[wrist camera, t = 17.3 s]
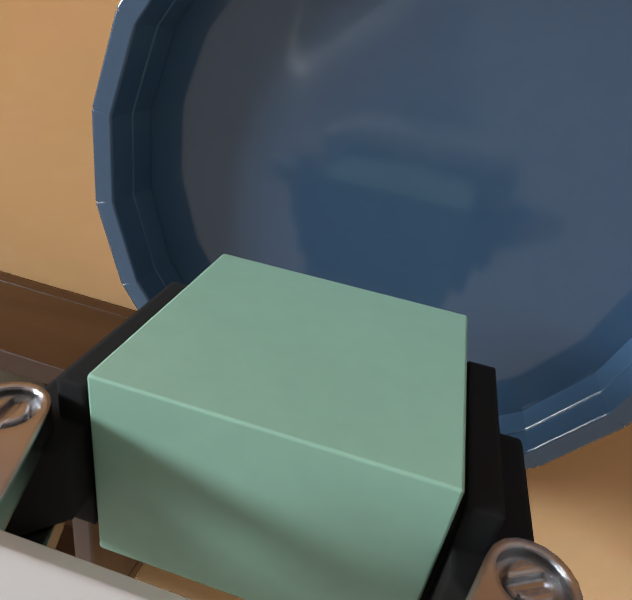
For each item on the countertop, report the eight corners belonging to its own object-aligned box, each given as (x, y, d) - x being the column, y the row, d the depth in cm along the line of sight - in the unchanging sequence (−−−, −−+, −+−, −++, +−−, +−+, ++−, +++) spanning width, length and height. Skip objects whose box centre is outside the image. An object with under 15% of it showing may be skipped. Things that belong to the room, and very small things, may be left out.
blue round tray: (143, -195, 13) (75, -243, 11) (901, -110, 10) (1017, -152, 8) (142, 354, 20) (103, 391, 18) (577, 487, 18) (590, 549, 16)
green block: (223, 252, 12) (85, 374, 8) (468, 315, 11) (465, 491, 7) (213, 389, 14) (99, 548, 10) (422, 451, 13) (397, 656, 9)
